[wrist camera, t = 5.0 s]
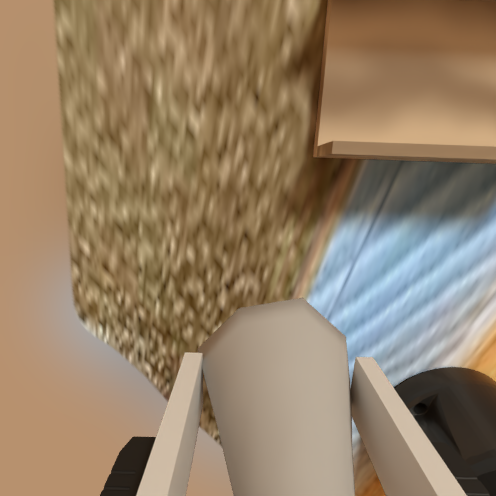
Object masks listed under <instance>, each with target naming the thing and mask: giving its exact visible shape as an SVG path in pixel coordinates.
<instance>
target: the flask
mask: <svg viewBox="0 0 496 496" xmlns="http://www.w3.org/2000/svg"><path fill="white" fill-rule="evenodd" d="M198 353H202V354H203V360H202V370H203V373H204V377H205V381H206V385H207V389H208V392H209V396H210V400H211V404H212V408H213V411H214V415H215V419H216V422H217V426H218V430H219V435H220V439H221V443H222V447H223V452H224V456H225V460H226V465H227V469H228V473H229V477H230V482H231V486H232V490H233V494H234V496H355V486H354V470H353V454H352V415H351V393H350V390H351V389H350V378H349V367H348V356H347V345H346V336H344V335H343V334H342V333H341V332H340V331H339V330H338V329H337V328H336V327H334V326H333V325H332V324H331V323H330V322H329V321H328V320H327V319H326V318H324V317H323V316H322V315H321V314H320V313H319V312H318V311H317V310H316V309H314V308H313V307H312V306H311V305H310V304H309V303H308V302H307V301H306V300H304V299H303V298H299V299H293V300H287V301H280V302H274V303H268V304H262V305H256V306H250V307H244V308H239V309H238V310H237V311H236V312H235V313H234V314H233V315H232V316H231V317H230V318H229V319H227V320H226V321H225V322H224V323H223V324H222V325H221V326H220V327H219V328H218V329H217V330H216V331H215V332H214V333H213V334H212V335H211V336H210V337H209V338H208V339H207V340H206V341H205V342H204V343H203V344H202V345H201V346H200V347H199V348H198Z"/></svg>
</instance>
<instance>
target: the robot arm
mask: <svg viewBox="0 0 496 496" xmlns="http://www.w3.org/2000/svg"><path fill="white" fill-rule="evenodd" d="M202 360H203V354H202V353H185V355H184V358H183V360H182V363H181V366H180V369H179V372H178V375H177V378H176V381H175V384H174V387H173V390H172V393H171V395H170V398H169V401H168V404H167V407H166V410H165V413H164V416H163V419H162V422H161V425H160V428H159V431H158V434H157V437H132V439H131V440H130V441H129V442H128V443H127V444H126V445H125V447H124V448H123V449H122V450H121V451H120V453H119V455H118V457H117V459H116V461H115V464H114V466H113V468H112V470H111V474H110V475H109V477H108V479H107V481H106V483H105V486H104V490H103V491H102V492H101V494H100V496H186V491H187V486H188V481H189V476H190V470H191V465H192V459H193V454H194V449H195V444H196V438H197V433H198V428H199V423H200V417H201V412H202V407H203V370H202ZM350 393H351V415H352V418H353V420H354V422H355V425H356V427H357V429H358V432H359V434H360V436H361V439H362V441H363V443H364V446H365V448H366V450H367V453H368V455H369V457H370V460H371V462H372V464H373V467H374V469H375V471H376V474H377V476H378V478H379V481H380V483H381V485H382V487H383V490H384V492H385V494H386V496H496V382H495V381H494V380H493V379H491V378H490V377H488V376H487V375H485V374H483V373H480V372H478V371H475V370H471V369H466V368H457V367H449V368H439V369H434V370H430V371H426V372H423V373H421V374H418V375H416V376H413V377H411V378H409V379H408V380H406V381H404V382H403V383H401V384H400V385H398V386H397V387H396V388H393V386H392V385H391V383H390V382H389V380H388V379H387V378H386V376H385V375H384V373H383V372H382V370H381V369H380V367H379V366H378V364H377V363H376V361H375V360H374V358H373V357H356V359H355V365H354V371H353V377H352V384H351V390H350Z"/></svg>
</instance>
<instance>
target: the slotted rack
mask: <svg viewBox="0 0 496 496" xmlns="http://www.w3.org/2000/svg"><path fill="white" fill-rule="evenodd" d="M313 157H320V158H349V159H378V160H406V161H435V162H464V163H492V164H496V0H328V3H327V14H326V25H325V35H324V46H323V57H322V67H321V78H320V89H319V99H318V110H317V120H316V131H315V142H314V152H313Z"/></svg>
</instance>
